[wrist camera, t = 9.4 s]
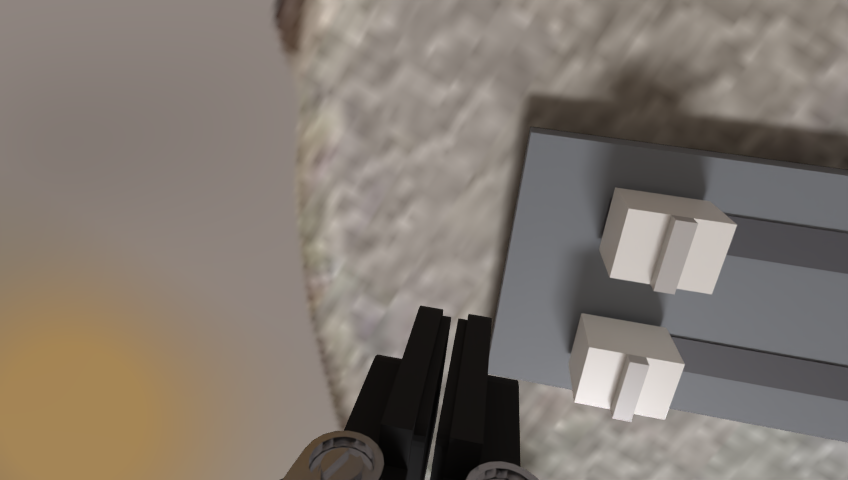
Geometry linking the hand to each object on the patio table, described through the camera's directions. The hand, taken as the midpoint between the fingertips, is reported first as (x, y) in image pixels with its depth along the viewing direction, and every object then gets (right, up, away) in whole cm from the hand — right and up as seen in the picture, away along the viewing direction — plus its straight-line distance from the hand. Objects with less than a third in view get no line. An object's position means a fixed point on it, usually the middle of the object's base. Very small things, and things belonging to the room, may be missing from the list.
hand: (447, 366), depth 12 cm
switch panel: (+15, 0, +13) cm, 20 cm away
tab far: (+9, -2, +14) cm, 16 cm away
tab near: (+10, +4, +11) cm, 15 cm away
